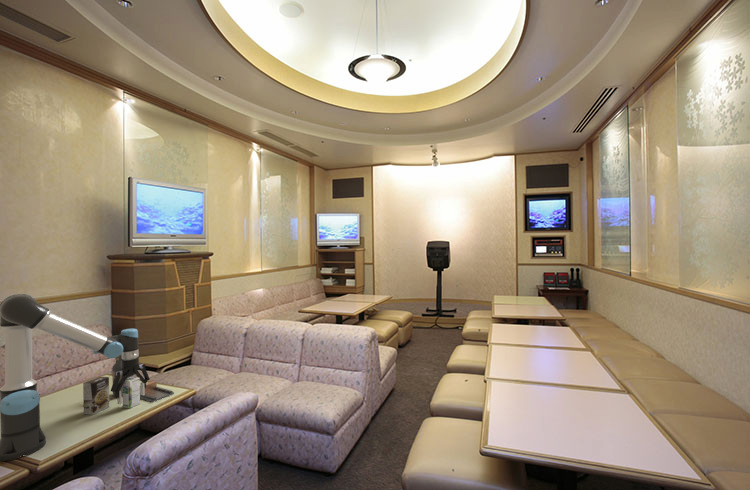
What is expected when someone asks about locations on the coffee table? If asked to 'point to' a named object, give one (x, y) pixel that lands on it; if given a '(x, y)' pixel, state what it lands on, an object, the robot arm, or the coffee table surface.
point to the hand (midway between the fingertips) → (131, 399)
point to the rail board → (155, 392)
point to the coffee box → (96, 395)
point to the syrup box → (131, 392)
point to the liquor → (117, 368)
